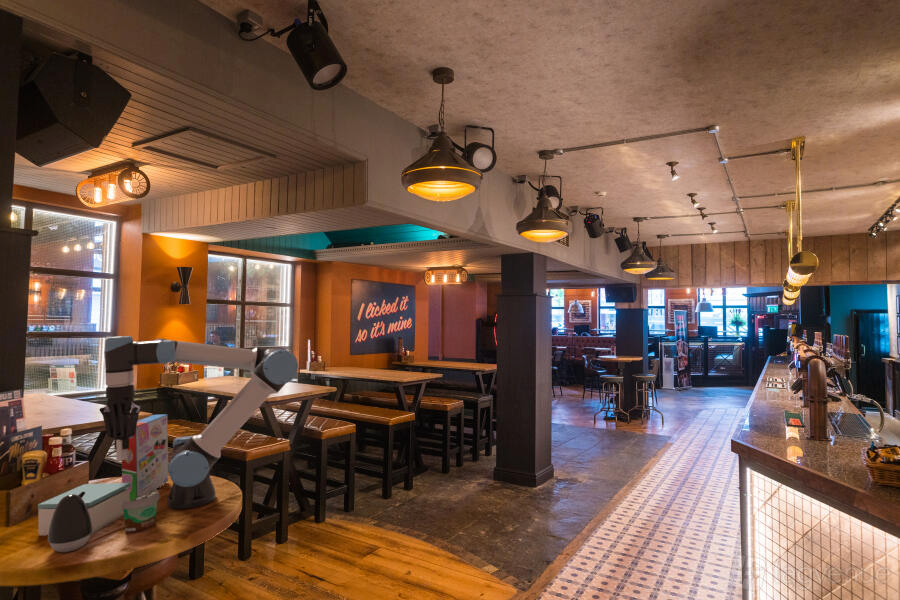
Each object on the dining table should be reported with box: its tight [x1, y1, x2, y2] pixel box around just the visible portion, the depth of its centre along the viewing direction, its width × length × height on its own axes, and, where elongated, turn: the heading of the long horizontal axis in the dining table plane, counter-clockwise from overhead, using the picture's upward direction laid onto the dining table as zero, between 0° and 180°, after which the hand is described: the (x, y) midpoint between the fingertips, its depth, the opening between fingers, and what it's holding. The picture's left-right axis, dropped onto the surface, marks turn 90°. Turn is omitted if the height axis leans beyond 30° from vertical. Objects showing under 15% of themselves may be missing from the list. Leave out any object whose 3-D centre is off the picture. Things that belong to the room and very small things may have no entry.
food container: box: [121, 489, 161, 535], centre depth 160 cm, size 12×6×10 cm, turn 168°
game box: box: [121, 413, 169, 501], centre depth 192 cm, size 21×6×27 cm, turn 0°
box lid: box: [37, 482, 131, 509], centre depth 164 cm, size 16×18×1 cm
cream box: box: [37, 488, 130, 536], centre depth 164 cm, size 16×18×8 cm
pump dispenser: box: [47, 492, 92, 553], centre depth 147 cm, size 10×10×15 cm
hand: (122, 459), depth 162 cm, fingers closed
